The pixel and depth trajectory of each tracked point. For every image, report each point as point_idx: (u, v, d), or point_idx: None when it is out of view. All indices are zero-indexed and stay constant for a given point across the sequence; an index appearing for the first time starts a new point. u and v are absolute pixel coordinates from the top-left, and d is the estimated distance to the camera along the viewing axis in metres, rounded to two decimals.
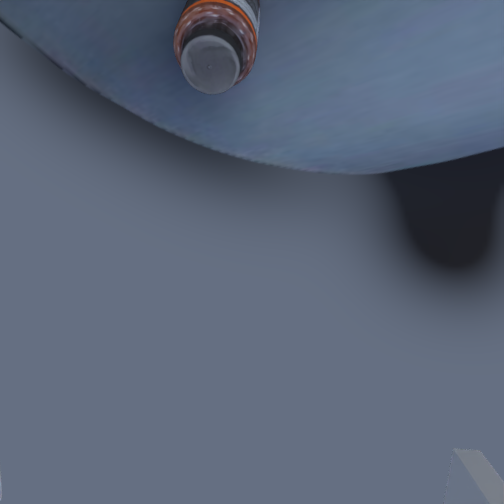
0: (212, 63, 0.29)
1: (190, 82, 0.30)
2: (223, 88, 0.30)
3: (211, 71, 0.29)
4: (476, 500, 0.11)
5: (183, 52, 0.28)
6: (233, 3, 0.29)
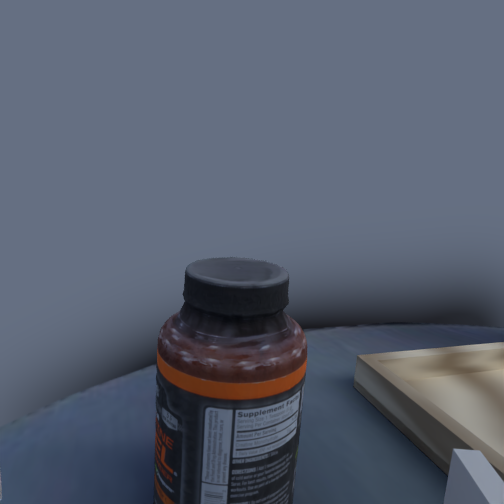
0: (243, 269, 0.16)
1: None
2: (195, 269, 0.16)
3: (231, 267, 0.17)
4: (476, 500, 0.11)
5: (265, 261, 0.18)
6: (294, 389, 0.16)
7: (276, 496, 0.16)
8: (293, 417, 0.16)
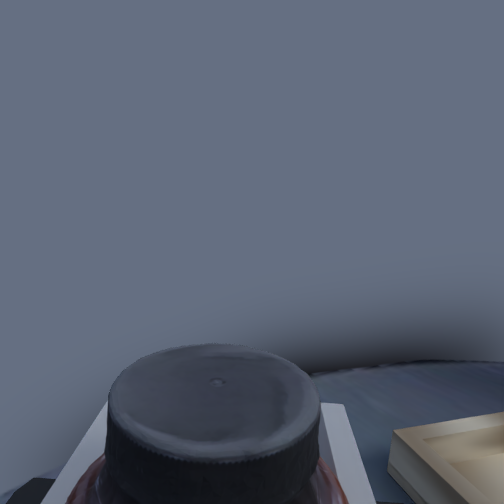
0: (227, 389, 0.08)
1: (183, 346, 0.10)
2: (126, 396, 0.08)
3: (203, 383, 0.08)
4: (325, 442, 0.13)
5: (271, 353, 0.10)
6: None
7: None
8: None
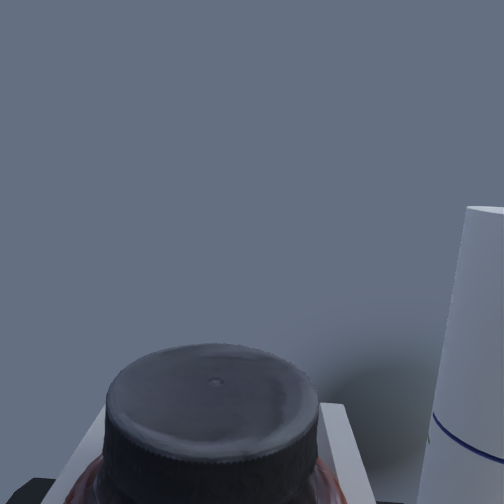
0: (225, 389, 0.08)
1: (181, 346, 0.10)
2: (124, 396, 0.08)
3: (201, 383, 0.08)
4: (325, 441, 0.13)
5: (270, 353, 0.10)
6: None
7: None
8: None
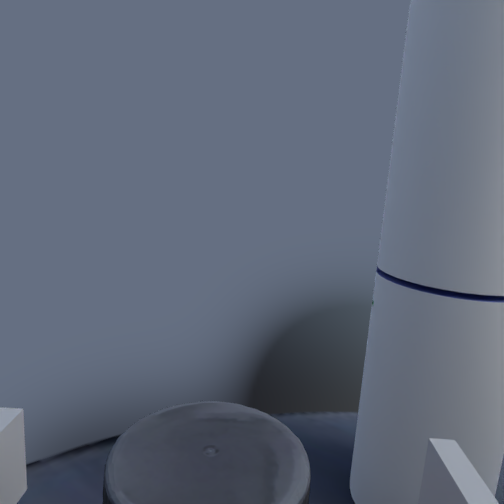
0: (220, 460, 0.08)
1: (178, 406, 0.10)
2: (122, 471, 0.08)
3: (196, 452, 0.08)
4: (448, 487, 0.11)
5: (264, 413, 0.10)
6: None
7: None
8: None
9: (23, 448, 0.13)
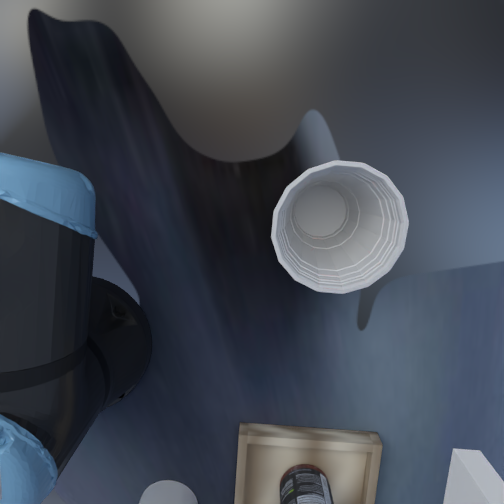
0: None
1: None
2: None
3: None
4: (476, 500, 0.11)
5: None
6: None
7: (304, 480, 0.48)
8: (300, 502, 0.45)
9: None
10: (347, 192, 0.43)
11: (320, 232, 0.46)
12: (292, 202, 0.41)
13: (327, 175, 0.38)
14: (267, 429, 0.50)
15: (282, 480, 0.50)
